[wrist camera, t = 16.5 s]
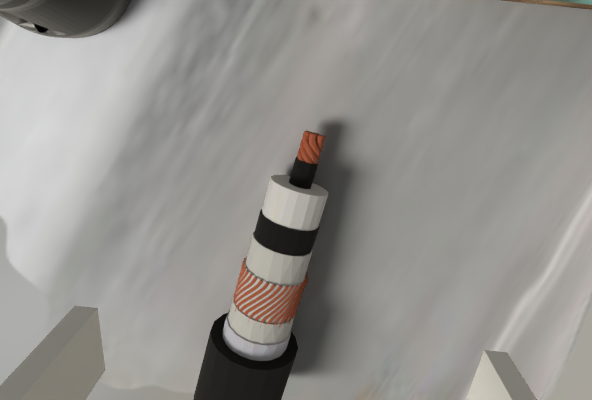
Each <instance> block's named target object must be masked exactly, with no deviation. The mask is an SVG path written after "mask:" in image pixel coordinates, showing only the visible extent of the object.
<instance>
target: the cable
mask: <svg viewBox="0 0 592 400" xmlns="http://www.w3.org/2000/svg"><path fill="white" fill-rule="evenodd" d="M324 139H325V136H323V135H320V134H317V133H313V132H310V131H305V132H304V134H303V139H302V141H301V144H300V148H299V151H298V156H297V157H296V159H295V163H294V166H293V169H292V173H291V176H286V175H273V176H271V178H270V182H269V186H268V189H267V193H266V197H265V200H264V204H263V208H262V209H261V211H260V215H259V218H258V222H257V226H256V229H255V232H254V233H253V236H252V240H251V244H250V248H249V252H248V256H247V258H244V261H243V264H242V269H241V272H240V277H239V279H238V284H237V286H236V291H235V294H234V296H233V300H232V304H231V308H230V310H229V312H228V313H226V314H223V315H222V316H221V317H220V318H218V319H217V320H216V321H214V324H213V327H212V329H211V332H210V336H209V339H208V343H207V347H206V351H205V355H204V359H203V363H202V367H201V371H200V375H199V379H198V383H197V386H196V390H195V394H194V400H281V398H282V395H283V392H284V389H285V386H286V383H287V380H288V377H289V374H290V371H291V368H292V365H293V362H294V359H295V356H296V353H297V350H298V346H297V342H296V338H295V336H294V335H293V333H292V332H291V328H292V323H293V320H294V317H295V314H296V310H297V307H298V304H299V301H300V298H301V294H302V292H303V289H304V287H305V286H306V284H307V282H308V277H307V273H306V272H307V268H308V264H309V261H310V258H311V255H312V252H313V245H314V242H315V238H316V235H317V232H318V229H319V223H320V220H321V216H322V213H323V210H324V207H325V204H326V201H327V197H328V191H326V190H325V189H324V188H322V187H321V186H319V185H316V184H314V183H312V182H313V179H314V176H315V172H316V169H317V165H318V160H319V157H320V152H321V150H322V147H323V142H324Z"/></svg>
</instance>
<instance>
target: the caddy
mask: <svg viewBox="0 0 592 400" xmlns="http://www.w3.org/2000/svg"><path fill="white" fill-rule="evenodd" d="M503 1H513V2H523V3H533V4H543V5H553V6H563V7H573V8H583V9H592V0H503Z"/></svg>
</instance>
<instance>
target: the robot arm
mask: <svg viewBox="0 0 592 400" xmlns="http://www.w3.org/2000/svg"><path fill="white" fill-rule="evenodd" d="M130 1H131V0H0V16H2V17H4V18H6V19H7V20H9V21H11V22H13V23H15V24H16V25H18V26H20V27H22V28H24V29H27V30H29V31H32V32H35V33H38V34H41V35H45V36H50V37H61V38H82V37H88V36H92V35H95V34H97V33H100V32H102V31H104V30H105V29H107V28H108V27H110V26H111V25H112V24H114V23H115V22H116V21H117V20H118V19H119V18H120V17H121V16H122V14H123V13H124V12H125V10H126V9H127V7H128V5H129V3H130ZM104 371H105V364H104V356H103V348H102V340H101V332H100V324H99V316H98V308H90V307H81V306H75V307H74V308H73V309H72V310H71V311H70V312H69V313H68V314H67V315H66V316H65V317H64V318H63V319H62V320H61V321H60V323H59V324H58V325H57V326H56V327H55V328H54V329H53V330H52V331H51V332H50V333H49V334H48V335H47V336H46V337H45V339H44V340H43V341H42V342H41V343H40V344H39V345H38V346H37V347H36V348H35V349H34V350H33V351H32V352H31V353H30V355H29V356H28V357H27V358H26V359H25V360H24V361H23V362H22V363H21V364H20V365H19V366H18V367H17V368H16V370H15V371H14V372H13V373H12V374H11V375H10V376H9V377H8V378H7V379H6V380H5V381H4V382H3V383H2V385H1V386H0V400H85V399H86V398H87V397H88V395H89V394H90V392H91V391H92V389H93V388H94V386H95V384H96V383H97V381H98V380H99V378H100V377H101V375H102V374H103V372H104ZM466 400H537V399H536V397H535V396H534V394H533V393H532V391H531V390H530V388H529V386H528V385H527V383H526V382H525V380H524V379H523V377H522V375H521V374H520V372H519V371H518V369H517V367H516V366H515V364H514V363H513V361H512V360H511V358H510V356H509V355H508V353H506V352H497V351H487V350H484V352H483V355H482V358H481V361H480V363H479V366H478V369H477V372H476V374H475V377H474V380H473V383H472V386H471V388H470V391H469V394H468V397H467V399H466Z"/></svg>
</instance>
